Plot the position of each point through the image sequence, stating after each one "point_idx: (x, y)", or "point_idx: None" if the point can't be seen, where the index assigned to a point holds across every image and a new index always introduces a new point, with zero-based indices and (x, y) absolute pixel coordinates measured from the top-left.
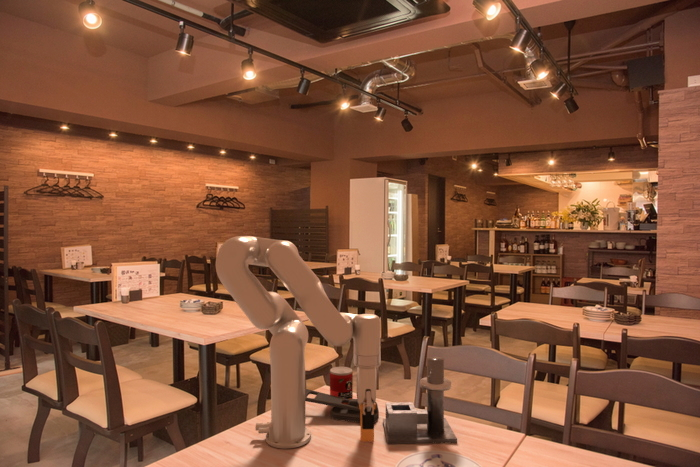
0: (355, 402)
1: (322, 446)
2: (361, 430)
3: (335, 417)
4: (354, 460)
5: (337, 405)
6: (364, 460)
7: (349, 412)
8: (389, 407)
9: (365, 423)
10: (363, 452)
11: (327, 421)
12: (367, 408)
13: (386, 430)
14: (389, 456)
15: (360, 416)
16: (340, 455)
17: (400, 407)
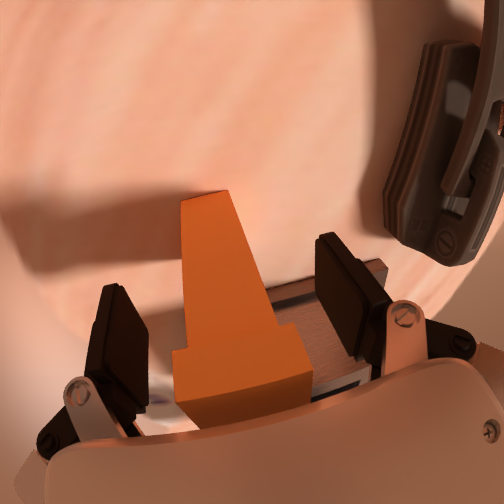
0: (488, 176)
1: (82, 15)
2: (182, 235)
3: (431, 52)
4: (6, 219)
5: (483, 73)
6: (24, 254)
7: (449, 127)
8: (334, 385)
9: (91, 334)
10: (75, 237)
11: (406, 11)
12: (29, 463)
13: (275, 304)
14: (92, 323)
15: (253, 262)
16: (15, 145)
17: (349, 388)
